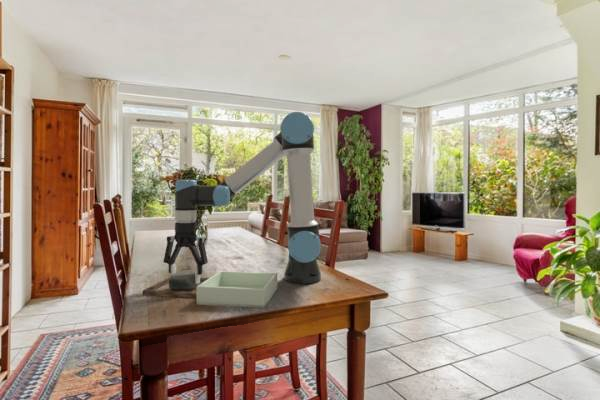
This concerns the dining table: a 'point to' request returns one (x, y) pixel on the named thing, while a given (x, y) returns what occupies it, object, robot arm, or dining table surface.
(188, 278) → the stone
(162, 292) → the frame
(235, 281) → the bin
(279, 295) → the dining table surface
